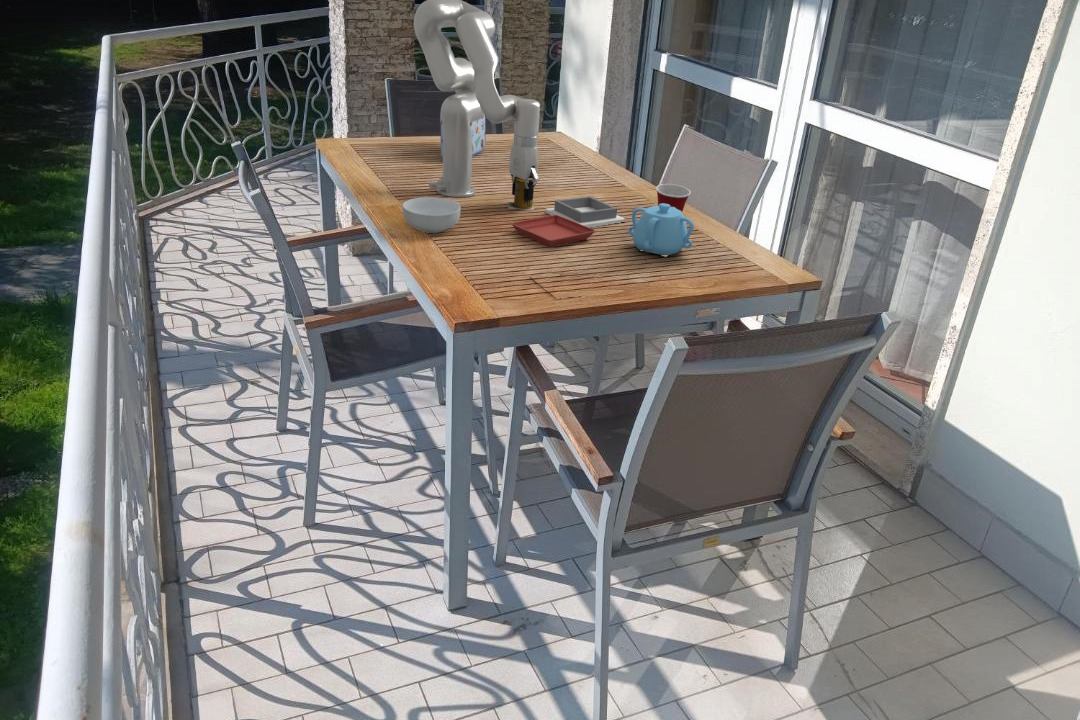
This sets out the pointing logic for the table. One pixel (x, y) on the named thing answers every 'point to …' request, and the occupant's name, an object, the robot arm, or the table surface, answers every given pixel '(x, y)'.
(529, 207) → the condiment
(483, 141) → the lunch box
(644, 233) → the decorative pot
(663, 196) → the plastic cup
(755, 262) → the table surface
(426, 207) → the cereal bowl
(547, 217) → the plant saucer
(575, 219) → the holder
